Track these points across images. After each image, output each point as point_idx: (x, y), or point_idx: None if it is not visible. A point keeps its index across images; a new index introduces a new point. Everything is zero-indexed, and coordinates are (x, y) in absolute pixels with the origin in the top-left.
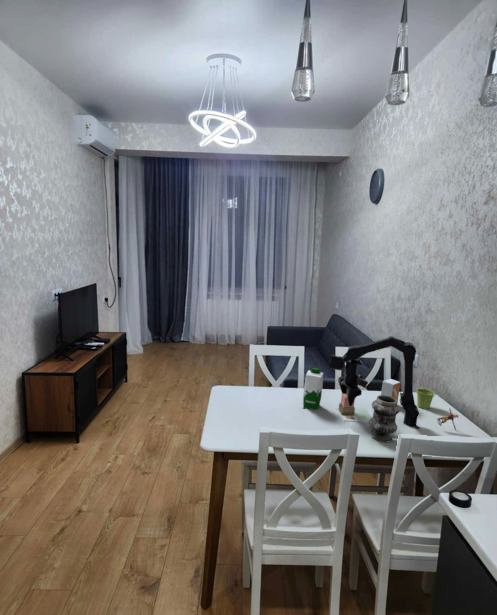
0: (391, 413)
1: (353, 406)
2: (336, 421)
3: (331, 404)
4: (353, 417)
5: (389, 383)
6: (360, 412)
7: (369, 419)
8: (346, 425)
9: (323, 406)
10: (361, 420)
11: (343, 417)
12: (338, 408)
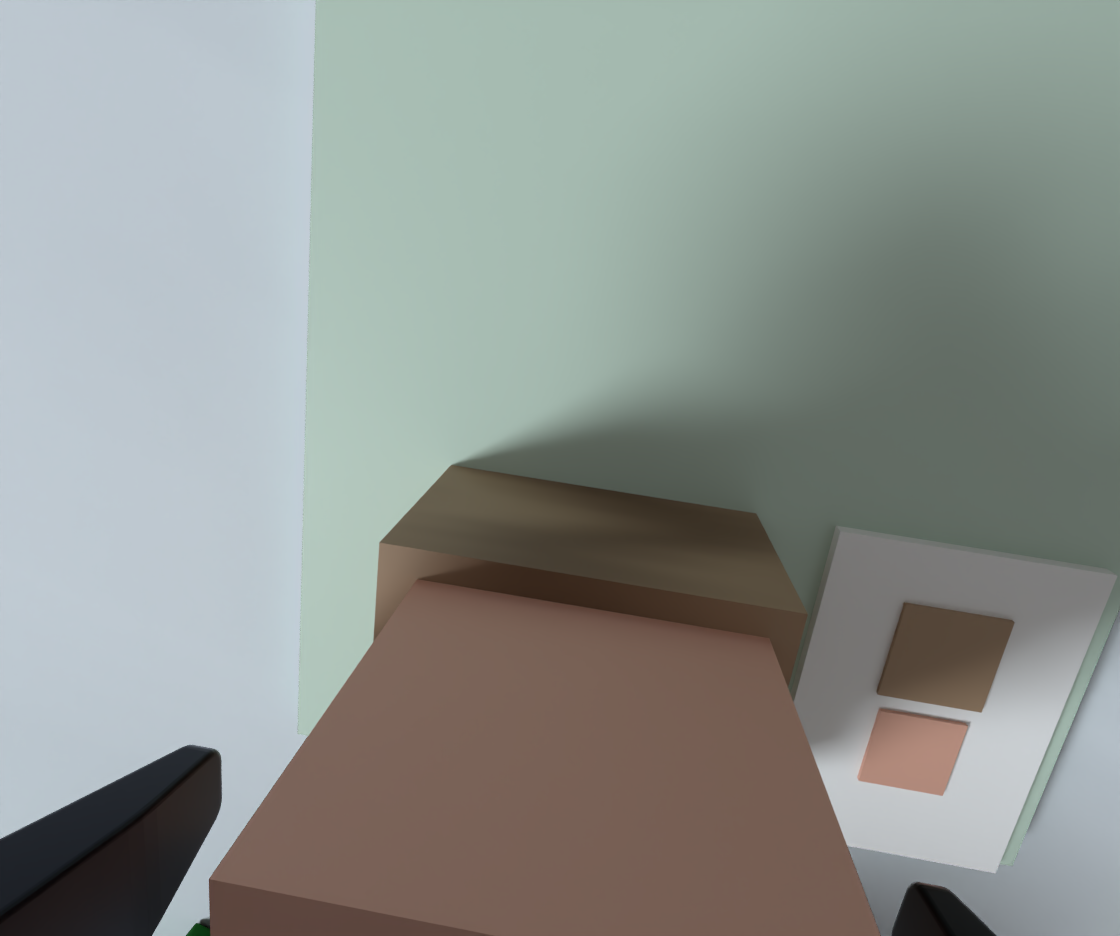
0: None
1: (776, 673)
2: (891, 930)
3: (78, 670)
4: (908, 610)
5: None
6: (576, 227)
7: (1078, 182)
8: (1114, 843)
9: (202, 854)
10: (1073, 459)
11: (855, 821)
12: (339, 682)
